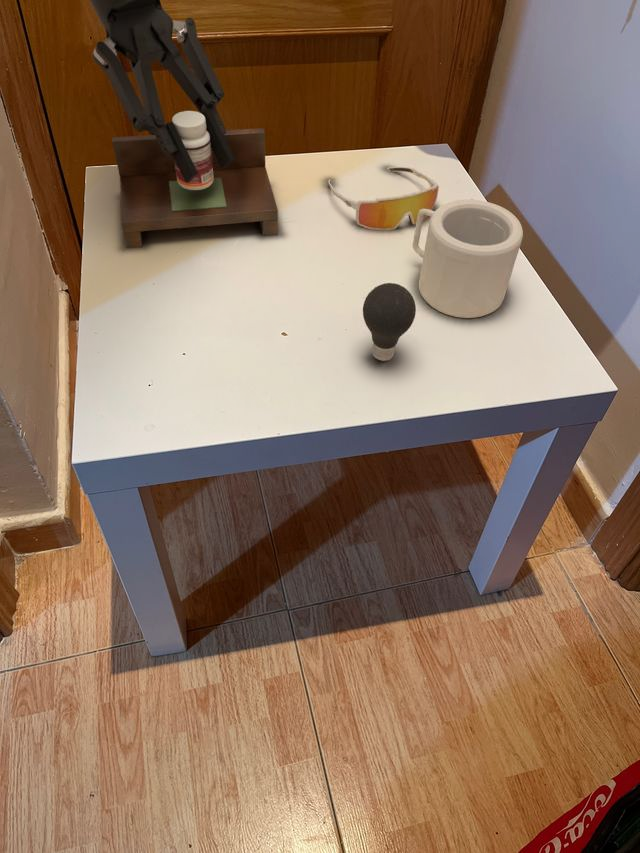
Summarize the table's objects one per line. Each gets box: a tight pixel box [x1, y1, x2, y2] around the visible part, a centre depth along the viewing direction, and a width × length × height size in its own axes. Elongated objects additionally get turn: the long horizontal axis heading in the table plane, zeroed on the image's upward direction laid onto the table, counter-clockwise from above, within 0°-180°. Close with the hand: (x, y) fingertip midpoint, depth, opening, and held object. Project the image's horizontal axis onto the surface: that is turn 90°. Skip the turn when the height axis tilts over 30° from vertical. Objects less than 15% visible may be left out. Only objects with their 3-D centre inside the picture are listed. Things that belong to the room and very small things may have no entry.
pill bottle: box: [171, 110, 214, 190], centre depth 86 cm, size 5×5×8 cm
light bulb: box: [362, 282, 417, 362], centre depth 75 cm, size 6×6×10 cm
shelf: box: [112, 127, 279, 249], centre depth 91 cm, size 20×12×9 cm, turn 101°
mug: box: [412, 199, 524, 319], centre depth 83 cm, size 14×11×10 cm
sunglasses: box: [327, 166, 440, 231], centre depth 98 cm, size 14×15×5 cm
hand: (210, 170), depth 85 cm, fingers closed on pill bottle, 5 cm apart
